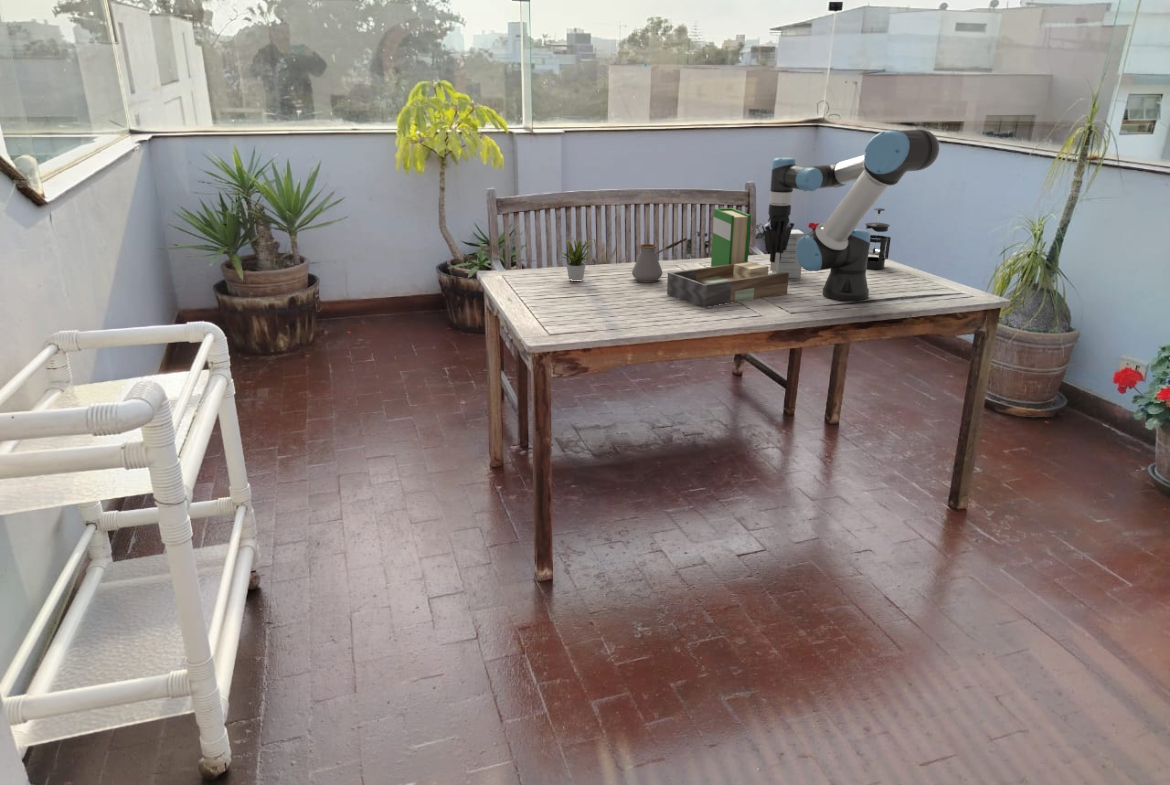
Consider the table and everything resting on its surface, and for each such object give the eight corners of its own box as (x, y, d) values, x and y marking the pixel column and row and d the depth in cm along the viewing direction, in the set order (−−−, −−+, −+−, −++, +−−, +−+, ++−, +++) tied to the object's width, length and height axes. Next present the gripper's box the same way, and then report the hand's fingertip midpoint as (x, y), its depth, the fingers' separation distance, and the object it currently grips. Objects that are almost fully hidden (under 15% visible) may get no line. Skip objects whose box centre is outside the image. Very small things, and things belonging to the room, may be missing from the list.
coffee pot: (636, 284, 292) (637, 243, 287) (627, 277, 302) (628, 237, 297) (691, 281, 296) (693, 240, 291) (681, 274, 307) (683, 235, 301)
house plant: (605, 278, 300) (605, 235, 295) (588, 286, 289) (588, 241, 283) (571, 274, 307) (571, 232, 301) (553, 282, 295) (553, 238, 289)
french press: (868, 270, 311) (875, 211, 303) (853, 265, 320) (860, 207, 311) (893, 268, 315) (901, 209, 306) (877, 263, 323) (885, 206, 315)
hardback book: (746, 280, 297) (751, 215, 289) (727, 281, 296) (731, 215, 287) (728, 270, 313) (732, 208, 305) (710, 271, 312) (714, 208, 303)
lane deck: (786, 294, 278) (788, 272, 275) (703, 307, 262) (704, 285, 259) (747, 281, 295) (749, 261, 292) (667, 293, 279) (667, 272, 276)
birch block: (767, 280, 280) (768, 266, 278) (749, 283, 276) (750, 269, 274) (750, 275, 287) (751, 261, 285) (733, 278, 283) (733, 264, 282)
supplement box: (801, 278, 300) (805, 233, 294) (776, 278, 300) (780, 233, 294) (795, 272, 309) (799, 229, 302) (771, 272, 309) (774, 229, 303)
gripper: (787, 201, 283) (780, 266, 292) (758, 203, 277) (753, 270, 286) (801, 203, 277) (795, 270, 286) (773, 206, 271) (767, 275, 280)
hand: (774, 270), depth 286 cm, fingers closed
